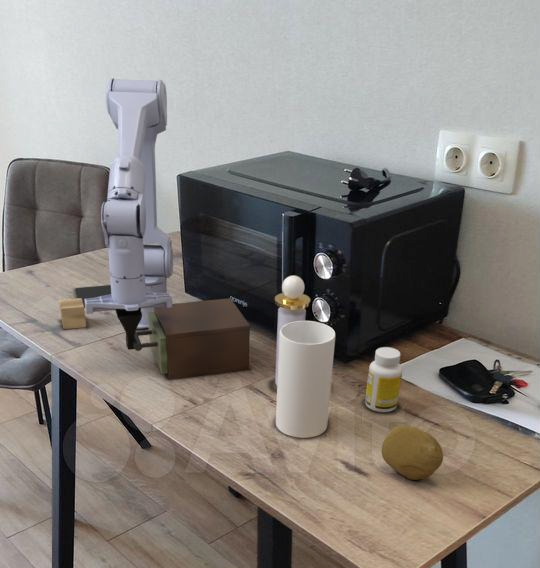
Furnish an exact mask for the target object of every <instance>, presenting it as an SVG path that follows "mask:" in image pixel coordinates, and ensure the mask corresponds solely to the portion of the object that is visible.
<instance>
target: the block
mask: <svg viewBox="0 0 540 568" xmlns="http://www.w3.org/2000/svg"><path fill="white" fill-rule="evenodd" d="M58 303H59V310H60V317H61V323H62V328H63V330H70V329H71V330H72V329H80V328H81V329H82V328H87V321H86V310H85V307H84V305H83V301H82V298H78V297H77V298H67V299H59V300H58Z"/></svg>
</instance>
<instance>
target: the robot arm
mask: <svg viewBox="0 0 540 568" xmlns="http://www.w3.org/2000/svg"><path fill="white" fill-rule="evenodd" d="M167 97H168V95H167V87H166V84H165V82H164V81H163V80H162V79H158V80H144V79H122V78H121V79H120V78H117V79H116V78H114V77H113V78H112V77H110V78H109V79H108V80H107V82H106V84H105V105H106V110H107V113H108V115H109V117H110V119H111V121H112V123H113V125H114V126H115V129H116V130H117V154H118V155H117V157H116V158H114V160H112V161H111V163H110V166H109V176H108V187H107V197H106V198H107V199H106V202H105V201H103V202H102V204H101V209H100V220H101V222H100V223H101V229H102V232H103V236H104V243H105V247H106V248H107V255H108V256H107V257H108V267H109V280H110V285H111V294H110V295H105V296H100V297H96V298H89V299H85V307H84V310H85V314H86V315H90V314H94V313H95V312H108V311H109V312H110V311H115V313H116V316H117V319H118V321H119V322H120V324H121V326H122V328H123V330H124V331H125V345H126V348H127V350H128V351H131V350H135V349H134V346H133V342H134V335H135V332H137V330H141V329H149V325H148V312H154V309H153V307H164V306H166V308H172V304H173V296H172V294H171V293H170V292H168V286H167V285H168V283H167V282H168V281H167V279H170V278H171V277H172V275H173V274H174V273H173V272H174V250H173V241H172V239H171V237H170V235H168V234H167V233H166V232H164V231H163V230H162V229H161V228H159V226H158V216H157V215H158V214H157V213H158V211H157V209H158V208H157V176H156V173H157V172H156V144H157V143H156V142H157V139H158V138H157V137H158V135H159V134H161V133H163V132H166V131H167V125H168V98H167Z"/></svg>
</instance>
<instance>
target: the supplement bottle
mask: <svg viewBox="0 0 540 568" xmlns="http://www.w3.org/2000/svg"><path fill="white" fill-rule="evenodd" d="M400 361H401V352H400V351H399V349H396V348H394V347H389V346H383V347H382V346H381V347H378V348H377V349H376V350H375V354H374V360H373V361H371V363H370V364H369V367H368V374H367V383H366V389H365V398H364V402H365V406H366V407H367V408H368V409H370V410H372V411H374V412H377V413H390V412H392V411H394V410H396V408H397V407H398V403H399V396H400V390H401V384H402V377H403V366H402V365H401V364H400Z"/></svg>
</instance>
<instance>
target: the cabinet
mask: <svg viewBox="0 0 540 568" xmlns="http://www.w3.org/2000/svg"><path fill="white" fill-rule="evenodd" d="M153 309H154V313H155V315H156V317H157V319H158V321H159V323H160V325H161V327H162V330H163V331H164V333H165V335H166V338H167V357H168V373H166V375H167V377H168V379H169V380H173V379H182V378H190V377H197V376H199V377H200V376H207V375H215V374H221V373H228V372H229V373H230V372H237V371H244V370H245V371H246V370H249V369H250V342H251V341H250V339H251V338H250V337H251V325H250V324H249V322H248V321H247V320H246V318H245V317H244V315H243V314H242V312H241V311H240V310H239V308H238V307H237V305H236V304H235V303H234V301H233V300H232V298H231V297H228V298H219V299H207V300H198V301H189V302H188V301H187V302H178V303H177V302H175V303H172V308H166V306H164V307H153Z"/></svg>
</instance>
